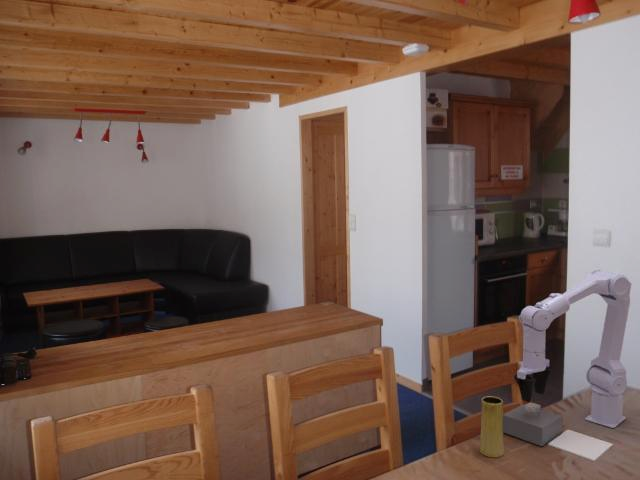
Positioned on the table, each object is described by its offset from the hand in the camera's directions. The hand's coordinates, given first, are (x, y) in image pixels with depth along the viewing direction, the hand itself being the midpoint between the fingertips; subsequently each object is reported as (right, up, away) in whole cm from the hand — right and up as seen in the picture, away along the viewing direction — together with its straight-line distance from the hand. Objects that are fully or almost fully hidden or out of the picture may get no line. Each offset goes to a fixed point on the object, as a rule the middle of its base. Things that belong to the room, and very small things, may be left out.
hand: (533, 396), depth 153 cm
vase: (-15, -12, -9) cm, 21 cm away
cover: (0, -10, +1) cm, 10 cm away
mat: (+10, -11, -7) cm, 16 cm away
